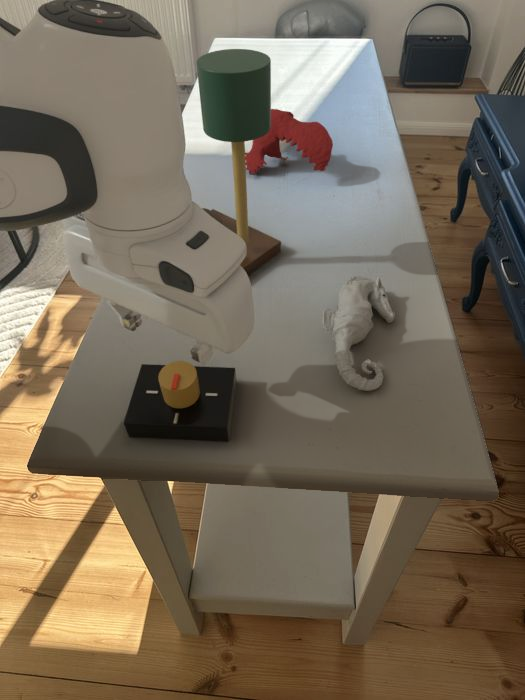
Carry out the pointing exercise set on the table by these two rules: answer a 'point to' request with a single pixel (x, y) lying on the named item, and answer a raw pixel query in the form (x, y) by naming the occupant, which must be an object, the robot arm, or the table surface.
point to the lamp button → (208, 211)
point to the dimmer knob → (179, 384)
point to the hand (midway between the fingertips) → (166, 341)
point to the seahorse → (357, 326)
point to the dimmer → (183, 423)
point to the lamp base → (252, 244)
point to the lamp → (236, 109)
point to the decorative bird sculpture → (305, 134)
